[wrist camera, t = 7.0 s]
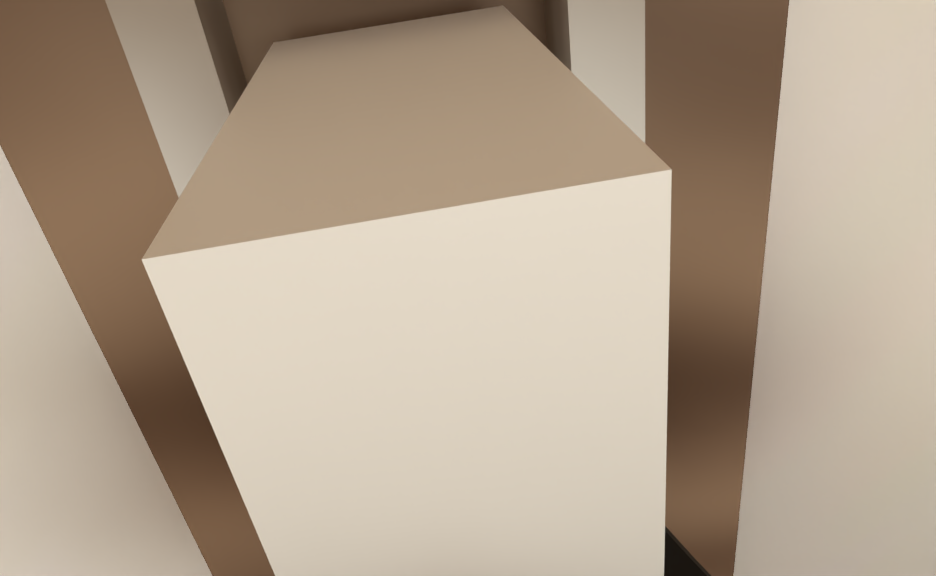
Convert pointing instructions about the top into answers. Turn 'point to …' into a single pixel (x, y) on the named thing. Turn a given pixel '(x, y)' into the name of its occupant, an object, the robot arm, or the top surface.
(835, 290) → the top surface
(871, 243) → the top surface
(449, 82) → the cream rectangular block
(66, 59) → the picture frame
